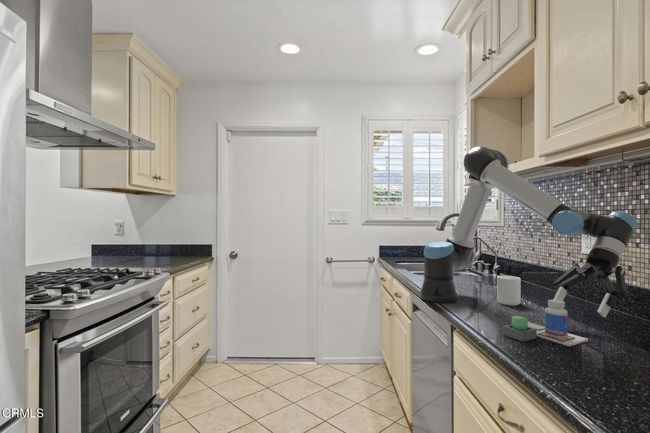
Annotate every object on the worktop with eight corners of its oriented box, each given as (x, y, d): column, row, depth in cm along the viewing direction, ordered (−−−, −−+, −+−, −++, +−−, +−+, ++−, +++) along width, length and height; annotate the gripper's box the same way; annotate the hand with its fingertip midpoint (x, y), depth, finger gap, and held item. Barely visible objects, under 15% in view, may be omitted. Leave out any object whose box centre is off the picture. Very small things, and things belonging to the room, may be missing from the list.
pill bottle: (569, 340, 94) (569, 304, 94) (546, 337, 96) (546, 302, 96) (565, 333, 99) (565, 300, 99) (543, 331, 101) (543, 298, 101)
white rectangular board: (510, 327, 107) (510, 324, 107) (528, 323, 111) (528, 321, 111) (569, 346, 91) (569, 343, 91) (588, 341, 95) (588, 338, 95)
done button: (508, 329, 99) (508, 316, 99) (517, 327, 101) (517, 315, 101) (521, 333, 96) (521, 320, 96) (530, 331, 98) (530, 318, 98)
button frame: (503, 334, 100) (503, 326, 100) (516, 331, 103) (516, 323, 103) (522, 341, 95) (522, 332, 95) (536, 338, 97) (536, 329, 97)
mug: (497, 297, 146) (497, 273, 146) (519, 299, 142) (519, 275, 142) (496, 304, 135) (497, 278, 135) (521, 306, 131) (521, 279, 131)
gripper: (660, 264, 97) (632, 327, 91) (572, 259, 120) (545, 309, 115) (646, 248, 95) (616, 310, 90) (559, 246, 119) (532, 295, 113)
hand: (576, 310), depth 102 cm, fingers open, 13 cm apart
